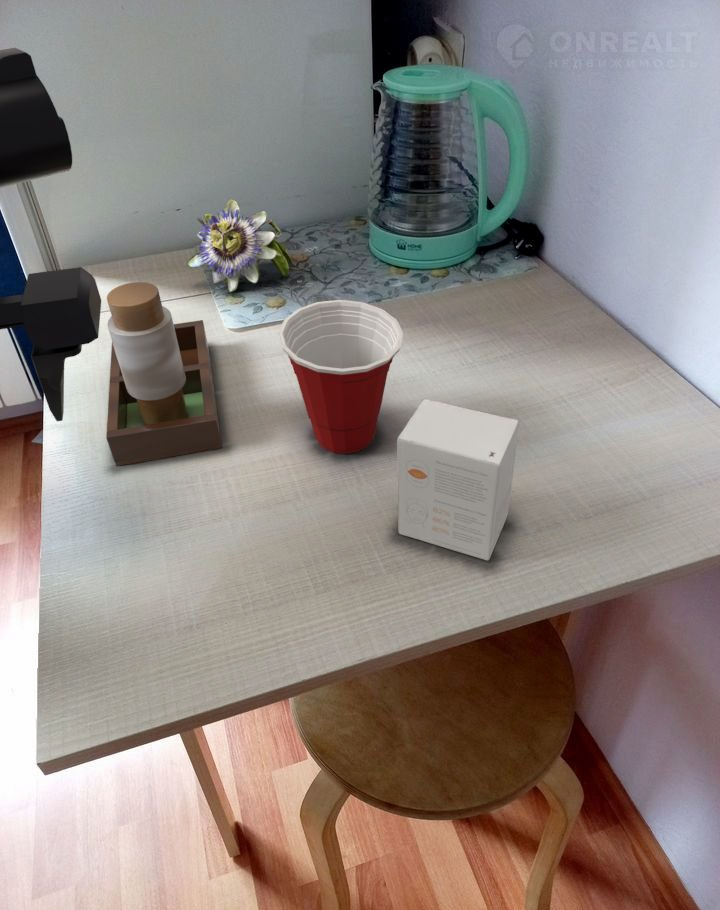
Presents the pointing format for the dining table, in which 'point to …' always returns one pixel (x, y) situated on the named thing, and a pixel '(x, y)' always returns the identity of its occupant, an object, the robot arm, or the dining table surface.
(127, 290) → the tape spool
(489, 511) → the small box
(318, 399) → the plastic cup
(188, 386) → the tray
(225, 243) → the passion flower
